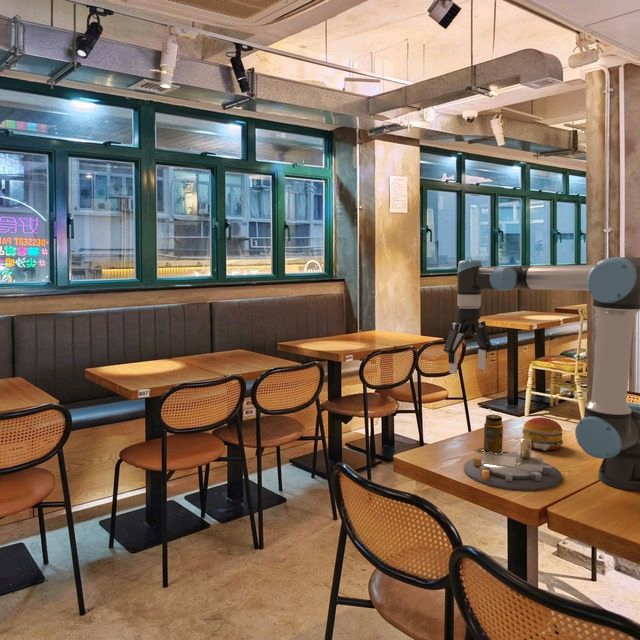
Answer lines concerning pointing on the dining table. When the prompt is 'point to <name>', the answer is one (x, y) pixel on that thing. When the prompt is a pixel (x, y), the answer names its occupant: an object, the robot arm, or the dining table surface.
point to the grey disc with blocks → (514, 464)
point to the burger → (543, 433)
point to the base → (499, 482)
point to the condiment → (492, 434)
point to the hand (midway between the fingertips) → (467, 371)
